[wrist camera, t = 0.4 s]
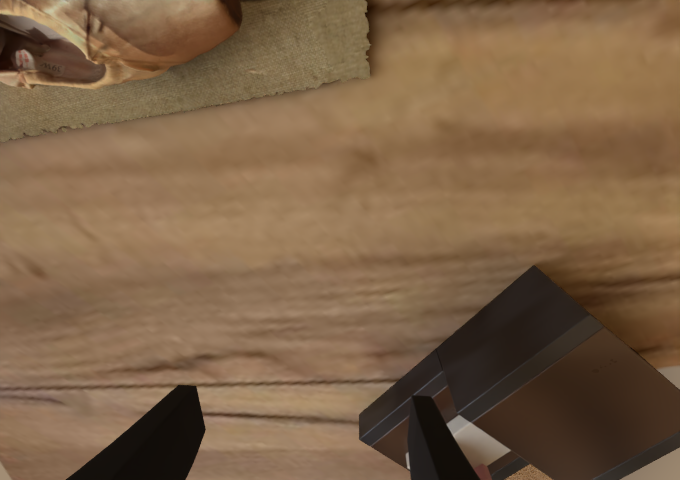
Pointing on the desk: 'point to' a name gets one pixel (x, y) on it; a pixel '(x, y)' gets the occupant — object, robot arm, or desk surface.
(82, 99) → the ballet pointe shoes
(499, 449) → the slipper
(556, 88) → the desk surface
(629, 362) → the dark stepped block
